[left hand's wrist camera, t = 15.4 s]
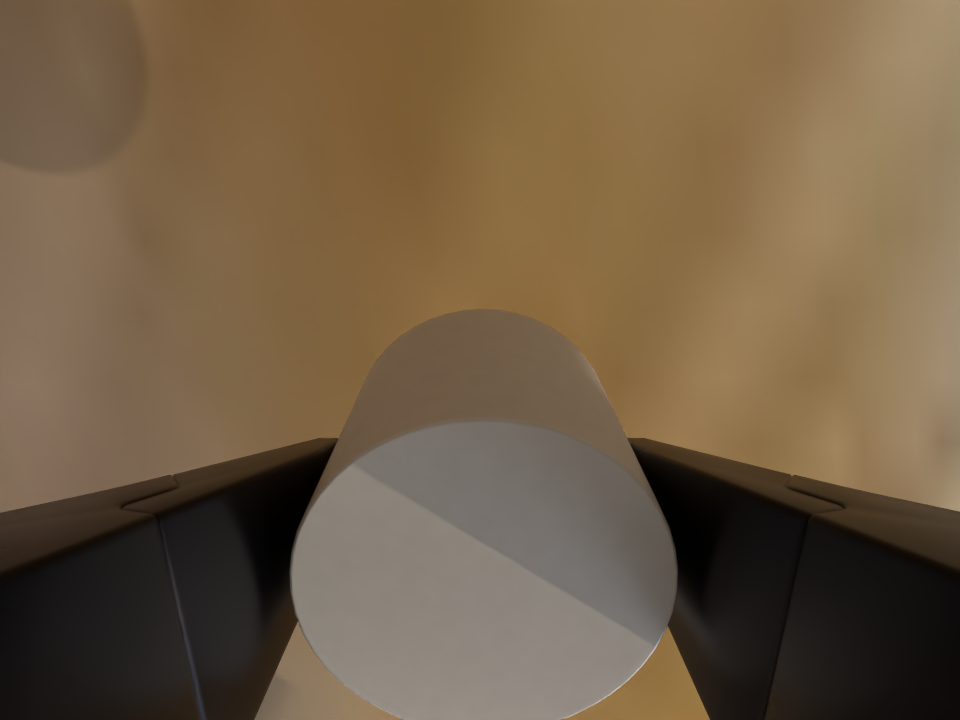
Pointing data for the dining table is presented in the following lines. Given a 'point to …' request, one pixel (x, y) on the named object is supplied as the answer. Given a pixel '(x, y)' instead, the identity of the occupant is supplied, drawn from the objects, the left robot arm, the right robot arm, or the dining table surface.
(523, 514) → the canister
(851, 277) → the dining table surface
